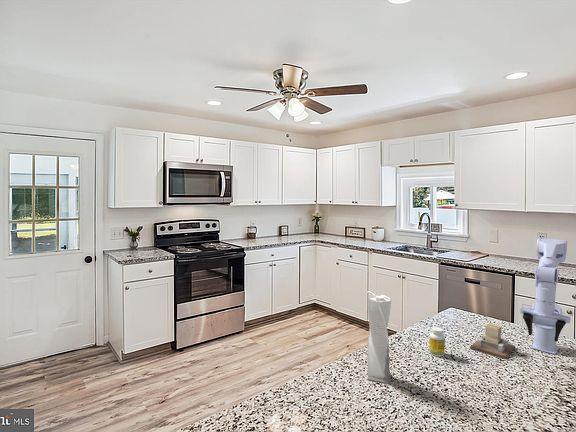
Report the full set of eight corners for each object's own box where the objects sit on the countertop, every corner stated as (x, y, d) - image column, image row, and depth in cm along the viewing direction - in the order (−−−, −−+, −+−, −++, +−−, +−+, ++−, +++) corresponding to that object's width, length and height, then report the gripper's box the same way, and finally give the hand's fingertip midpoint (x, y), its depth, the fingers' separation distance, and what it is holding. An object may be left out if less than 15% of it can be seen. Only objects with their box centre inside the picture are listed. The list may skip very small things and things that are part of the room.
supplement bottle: (434, 349, 139) (435, 325, 138) (447, 354, 134) (448, 329, 134) (426, 352, 136) (427, 328, 135) (438, 358, 131) (439, 332, 131)
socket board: (481, 338, 150) (481, 330, 149) (514, 347, 141) (515, 339, 141) (470, 348, 140) (470, 340, 140) (505, 359, 131) (505, 349, 131)
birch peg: (488, 342, 144) (489, 323, 143) (500, 346, 140) (501, 326, 140) (484, 345, 140) (485, 325, 140) (497, 349, 137) (498, 329, 137)
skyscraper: (362, 379, 115) (365, 294, 114) (366, 367, 123) (368, 288, 121) (389, 384, 113) (392, 297, 111) (391, 372, 120) (394, 290, 118)
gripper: (518, 298, 129) (516, 334, 130) (569, 307, 119) (566, 347, 120) (523, 294, 134) (521, 329, 135) (572, 303, 124) (569, 341, 125)
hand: (543, 337), depth 128 cm, fingers open, 7 cm apart
